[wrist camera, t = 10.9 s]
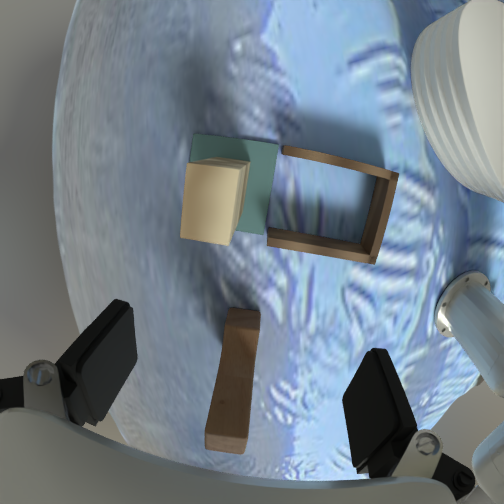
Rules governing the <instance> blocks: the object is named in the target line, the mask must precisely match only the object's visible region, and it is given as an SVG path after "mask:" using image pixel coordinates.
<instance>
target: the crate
mask: <svg viewBox="0 0 504 504" xmlns="http://www.w3.org/2000/svg"><path fill="white" fill-rule="evenodd" d="M282 154H283V155H288V156H293V157H298V158H303V159H308V160H313V161H318V162H322V163H327V164H331V165H335V166H340V167H344V168H348V169H352V170H356V171H360V172H364V173H367V174H371V175H375V176H377V178H376V183H375V187H374V192H373V196H372V200H371V205H370V209H369V213H368V217H367V221H366V225H365V228H364V232H363V236H362V239H361V243H360V244H359V243H353V242H348V241H343V240H338V239H333V238H327V237H322V236H316V235H311V234H305V233H300V232H294V231H289V230H283V229H277V228H271V227H269V228H268V234H267V246H270V247H276V248H282V249H288V250H294V251H300V252H306V253H311V254H317V255H323V256H329V257H335V258H340V259H346V260H352V261H357V262H363V263H369V264H374V265H375V263H376V259H377V256H378V253H379V250H380V247H381V243H382V240H383V236H384V233H385V229H386V226H387V222H388V218H389V215H390V211H391V207H392V203H393V199H394V194H395V190H396V186H397V181H398V177H399V173H396V172H393V171H390V170H386V169H383V168H380V167H376V166H373V165H369V164H365V163H362V162H358V161H354V160H350V159H346V158H342V157H338V156H334V155H330V154H325V153H321V152H316V151H311V150H307V149H302V148H297V147H291V146H286V145H284V146H283V149H282Z"/></svg>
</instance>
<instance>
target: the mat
mask: <svg viewBox="0 0 504 504" xmlns="http://www.w3.org/2000/svg"><path fill="white" fill-rule="evenodd" d="M278 147H279V145H277V144H271V143H265V142H259V141H252V140H245V139H238V138H230V137H222V136H213V135H203V134H193V141H192V148H191V156H190V162H194V161H199V160H203V159H208V158H214V157H221V158H229V159H236V160H243V161H249V162H251V163H250V169H249V175H248V182H247V188H246V194H245V201H244V207H243V212H242V215H241V217H240V219H239V222H238V224H237V227H236V229H235V230H236V231H242V232H248V233H254V234H260V235H263V233H264V228H265V222H266V216H267V211H268V205H269V199H270V193H271V188H272V182H273V176H274V170H275V164H276V159H277V153H278Z"/></svg>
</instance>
